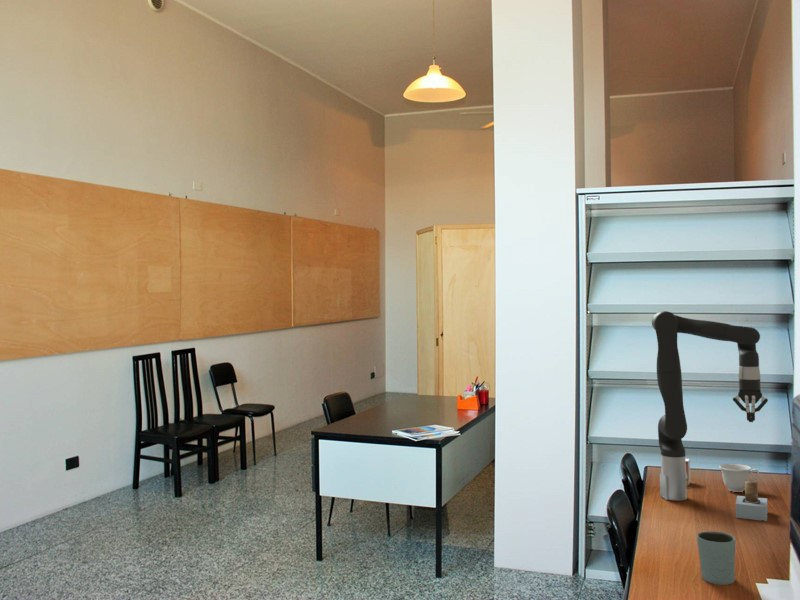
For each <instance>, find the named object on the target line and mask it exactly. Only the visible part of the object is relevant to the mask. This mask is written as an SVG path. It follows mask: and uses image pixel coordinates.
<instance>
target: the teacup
mask: <svg viewBox="0 0 800 600" xmlns="http://www.w3.org/2000/svg"><path fill="white" fill-rule="evenodd" d="M718 467H719V469H720V470H721V474H722V480H723V485H724V486H725V487H726V488H728V490H729V491H728V492H730V491H732V492H731V493H734V492H742V493H744V492H743V491H744V490H745V481H756V480H758V479H759V478H760V471H759V470H758V469H757V468H753V469H752V467H750V466H749V465H745V464H739V463H722V464H720V465H719V466H718ZM754 472H756V476H755V477H752V478H750V475H753V473H754Z"/></svg>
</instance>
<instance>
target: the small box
mask: <svg viewBox="0 0 800 600" xmlns="http://www.w3.org/2000/svg"><path fill="white" fill-rule="evenodd" d="M685 459H686V486H688V485H689V486H690V484H691V469H690V467H691V465H690V463H691V462H690V461H691V459H690V458H685Z"/></svg>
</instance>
